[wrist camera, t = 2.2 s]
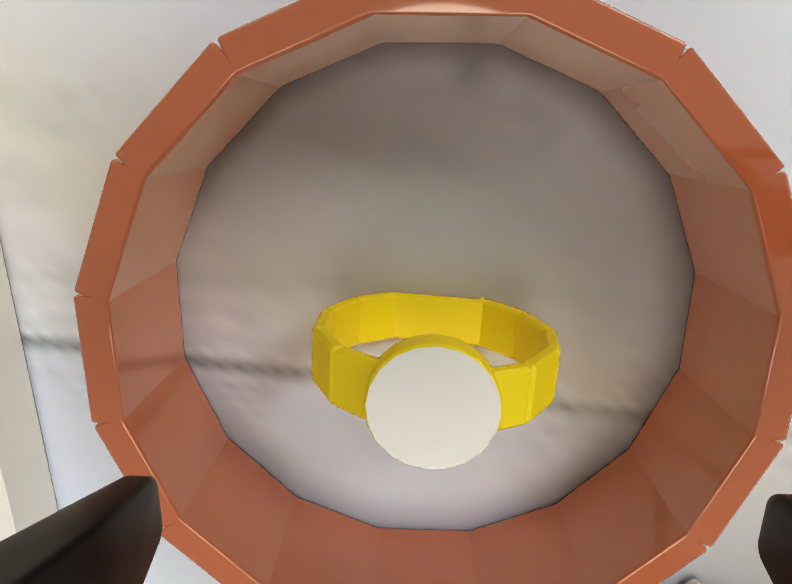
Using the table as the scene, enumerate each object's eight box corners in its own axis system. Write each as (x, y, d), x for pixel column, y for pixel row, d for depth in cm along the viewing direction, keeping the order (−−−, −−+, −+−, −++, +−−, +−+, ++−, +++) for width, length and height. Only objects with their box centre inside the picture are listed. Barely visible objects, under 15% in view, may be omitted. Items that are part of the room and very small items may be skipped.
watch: (538, 276, 17) (604, 355, 11) (526, 365, 18) (582, 481, 12) (332, 264, 17) (291, 336, 11) (329, 352, 18) (290, 462, 12)
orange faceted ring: (768, 13, 15) (895, -26, 11) (671, 556, 19) (736, 663, 15) (123, 5, 15) (23, -35, 11) (179, 541, 20) (123, 642, 16)
